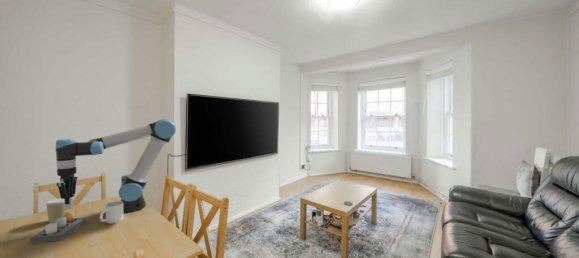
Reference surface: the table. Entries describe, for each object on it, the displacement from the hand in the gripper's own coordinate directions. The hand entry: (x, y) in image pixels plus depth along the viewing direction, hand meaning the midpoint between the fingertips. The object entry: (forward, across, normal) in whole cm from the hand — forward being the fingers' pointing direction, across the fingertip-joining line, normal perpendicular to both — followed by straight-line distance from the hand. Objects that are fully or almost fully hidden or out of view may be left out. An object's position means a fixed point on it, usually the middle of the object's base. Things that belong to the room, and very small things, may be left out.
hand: (69, 209), depth 124 cm
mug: (+11, -1, +19) cm, 22 cm away
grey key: (+8, +5, -1) cm, 10 cm away
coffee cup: (+10, -9, -11) cm, 17 cm away
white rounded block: (+8, +12, -1) cm, 14 cm away
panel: (+10, +5, -1) cm, 11 cm away
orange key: (+8, -1, -1) cm, 8 cm away
